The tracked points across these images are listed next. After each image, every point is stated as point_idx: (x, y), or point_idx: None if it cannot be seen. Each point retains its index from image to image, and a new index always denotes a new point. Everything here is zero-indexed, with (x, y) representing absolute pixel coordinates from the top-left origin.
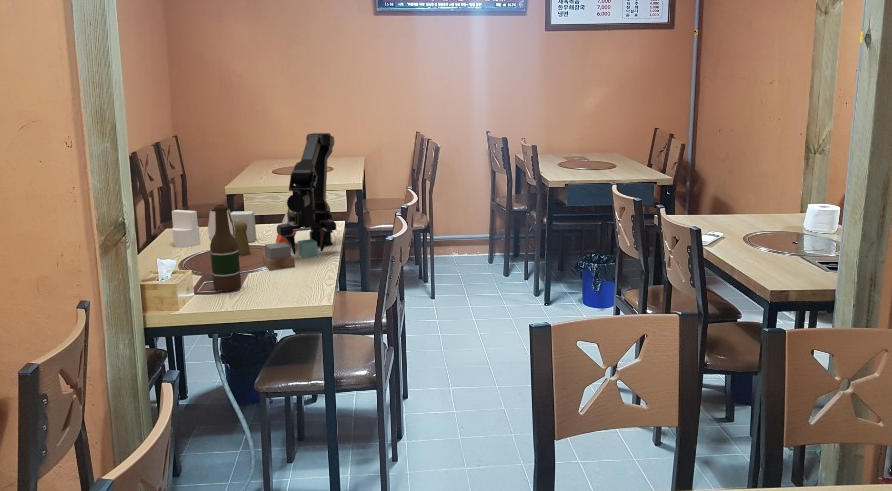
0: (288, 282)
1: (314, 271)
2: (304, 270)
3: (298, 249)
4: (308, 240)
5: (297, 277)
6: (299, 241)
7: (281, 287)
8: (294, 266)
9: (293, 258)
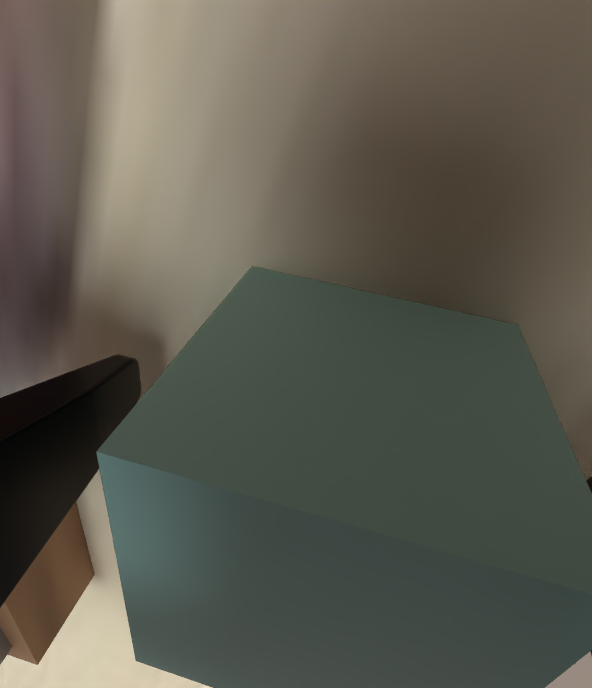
0: (33, 676)
1: (187, 680)
2: None
3: (211, 318)
4: (393, 615)
5: (80, 670)
6: (126, 526)
7: (5, 684)
8: (87, 580)
9: (34, 654)
